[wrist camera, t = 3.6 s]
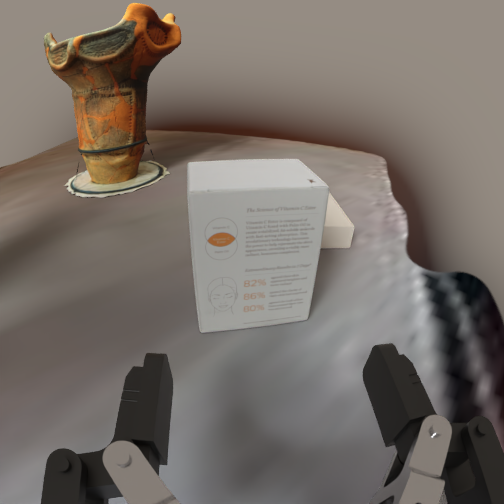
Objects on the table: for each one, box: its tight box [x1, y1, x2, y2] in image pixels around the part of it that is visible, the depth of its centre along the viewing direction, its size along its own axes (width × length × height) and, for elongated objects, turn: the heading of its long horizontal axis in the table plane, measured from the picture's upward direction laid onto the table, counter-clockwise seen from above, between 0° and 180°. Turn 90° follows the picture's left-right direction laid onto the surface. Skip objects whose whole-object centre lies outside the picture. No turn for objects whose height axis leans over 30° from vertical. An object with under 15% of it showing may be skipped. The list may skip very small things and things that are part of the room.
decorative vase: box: [44, 3, 181, 198], centre depth 42 cm, size 21×23×28 cm
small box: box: [187, 159, 329, 333], centre depth 22 cm, size 8×6×10 cm
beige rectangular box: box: [321, 193, 354, 248], centre depth 36 cm, size 14×12×2 cm
